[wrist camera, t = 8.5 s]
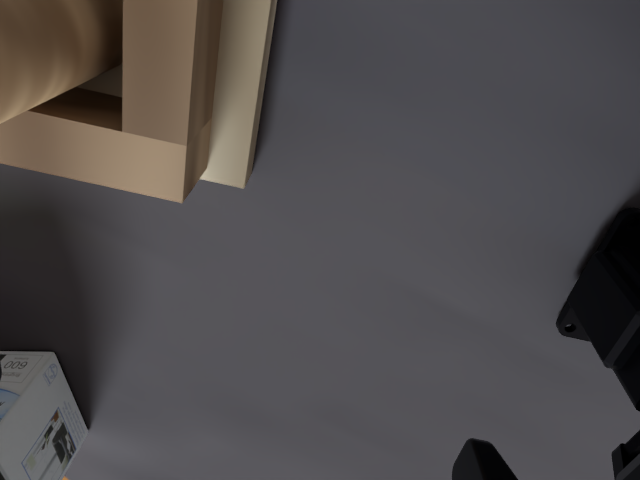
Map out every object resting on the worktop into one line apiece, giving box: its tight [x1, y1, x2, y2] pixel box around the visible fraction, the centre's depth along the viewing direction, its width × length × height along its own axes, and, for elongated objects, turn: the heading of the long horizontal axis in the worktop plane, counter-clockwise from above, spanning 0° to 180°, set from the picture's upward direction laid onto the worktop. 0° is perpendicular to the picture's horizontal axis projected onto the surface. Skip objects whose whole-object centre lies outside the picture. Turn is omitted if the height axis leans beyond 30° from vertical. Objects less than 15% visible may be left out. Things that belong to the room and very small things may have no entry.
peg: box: [0, 0, 123, 124], centre depth 13 cm, size 4×4×8 cm
